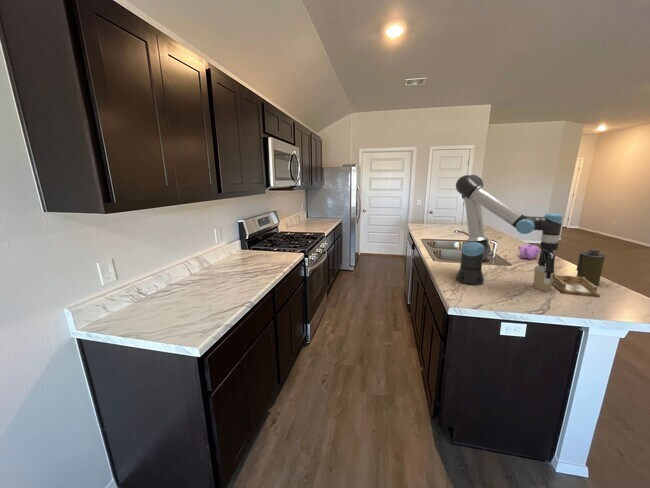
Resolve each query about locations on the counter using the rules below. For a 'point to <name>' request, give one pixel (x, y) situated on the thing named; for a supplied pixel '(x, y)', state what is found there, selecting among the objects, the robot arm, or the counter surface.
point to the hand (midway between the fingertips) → (543, 280)
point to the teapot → (529, 251)
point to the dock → (574, 286)
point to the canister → (590, 266)
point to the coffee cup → (542, 278)
